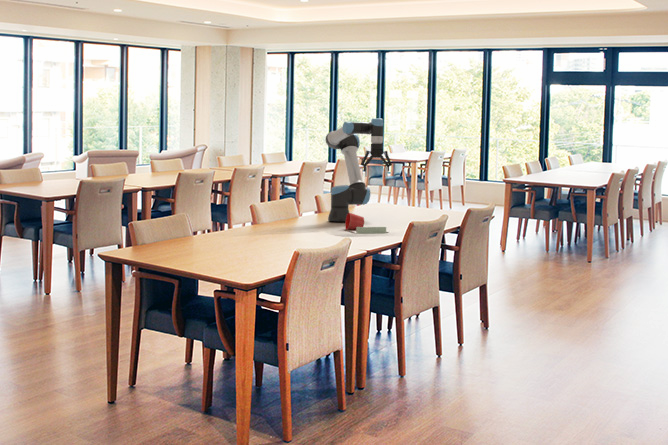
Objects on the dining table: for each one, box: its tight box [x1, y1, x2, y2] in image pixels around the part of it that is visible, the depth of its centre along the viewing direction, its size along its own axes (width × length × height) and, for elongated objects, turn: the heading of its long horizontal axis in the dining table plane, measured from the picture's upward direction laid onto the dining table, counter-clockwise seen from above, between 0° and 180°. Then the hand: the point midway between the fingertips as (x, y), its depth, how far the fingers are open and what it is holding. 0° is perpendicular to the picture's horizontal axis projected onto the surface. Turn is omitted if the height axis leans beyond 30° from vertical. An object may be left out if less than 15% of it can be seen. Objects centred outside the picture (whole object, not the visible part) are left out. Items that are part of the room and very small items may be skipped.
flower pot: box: [344, 212, 365, 231], centre depth 475 cm, size 11×11×10 cm
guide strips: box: [344, 229, 390, 234], centre depth 464 cm, size 18×22×1 cm
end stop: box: [355, 226, 387, 234], centre depth 455 cm, size 2×18×4 cm, turn 106°
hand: (376, 176), depth 485 cm, fingers open, 13 cm apart
